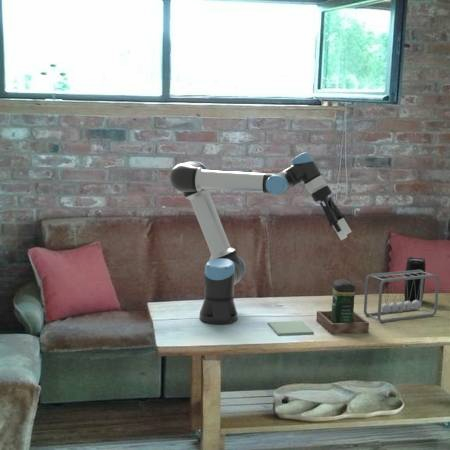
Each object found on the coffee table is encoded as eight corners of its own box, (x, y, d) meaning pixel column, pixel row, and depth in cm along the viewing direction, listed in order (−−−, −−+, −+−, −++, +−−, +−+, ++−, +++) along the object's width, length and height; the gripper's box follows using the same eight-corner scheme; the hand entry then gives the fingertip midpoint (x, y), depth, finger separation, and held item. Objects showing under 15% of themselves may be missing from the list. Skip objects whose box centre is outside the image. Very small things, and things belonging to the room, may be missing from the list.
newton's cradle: (420, 309, 300) (423, 268, 297) (437, 315, 290) (440, 274, 287) (362, 316, 287) (365, 274, 284) (378, 323, 278) (381, 280, 275)
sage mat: (277, 335, 259) (277, 333, 259) (267, 323, 273) (267, 322, 273) (313, 333, 262) (313, 331, 262) (301, 322, 276) (302, 320, 276)
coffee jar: (355, 330, 268) (358, 283, 265) (335, 330, 267) (338, 283, 264) (347, 322, 277) (350, 277, 274) (328, 323, 276) (330, 277, 273)
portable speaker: (423, 299, 315) (426, 257, 311) (422, 305, 306) (426, 261, 302) (403, 297, 317) (406, 255, 314) (402, 303, 308) (406, 259, 305)
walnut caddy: (331, 334, 262) (331, 324, 261) (316, 320, 279) (316, 311, 278) (368, 332, 265) (369, 322, 265) (351, 319, 282) (352, 309, 281)
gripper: (322, 186, 259) (351, 236, 258) (331, 181, 282) (358, 227, 282) (304, 197, 261) (333, 245, 260) (315, 191, 285) (342, 235, 284)
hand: (346, 236), depth 271 cm, fingers open, 13 cm apart
